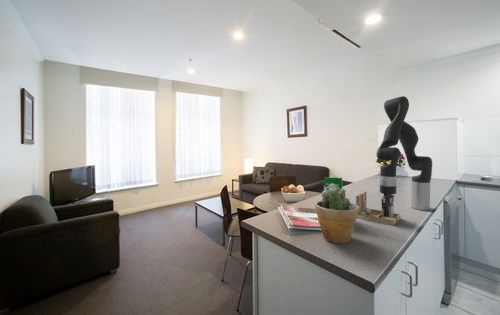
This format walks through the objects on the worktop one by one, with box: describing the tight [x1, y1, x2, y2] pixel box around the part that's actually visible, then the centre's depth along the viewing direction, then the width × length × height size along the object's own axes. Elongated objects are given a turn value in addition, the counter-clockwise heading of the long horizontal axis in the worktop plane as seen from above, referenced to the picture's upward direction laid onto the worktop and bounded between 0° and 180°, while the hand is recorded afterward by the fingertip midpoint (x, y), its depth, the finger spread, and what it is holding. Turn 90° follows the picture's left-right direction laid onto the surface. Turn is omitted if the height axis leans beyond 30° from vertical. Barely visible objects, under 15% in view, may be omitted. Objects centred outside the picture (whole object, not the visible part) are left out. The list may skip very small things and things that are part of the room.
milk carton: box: [323, 175, 343, 191], centre depth 119 cm, size 9×9×25 cm
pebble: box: [365, 207, 371, 214], centre depth 127 cm, size 3×3×3 cm
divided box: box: [355, 191, 401, 227], centre depth 119 cm, size 14×18×13 cm
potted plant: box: [314, 184, 359, 244], centre depth 97 cm, size 18×19×25 cm
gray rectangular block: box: [381, 204, 395, 218], centre depth 116 cm, size 4×4×6 cm
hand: (387, 215), depth 116 cm, fingers closed on gray rectangular block, 4 cm apart
